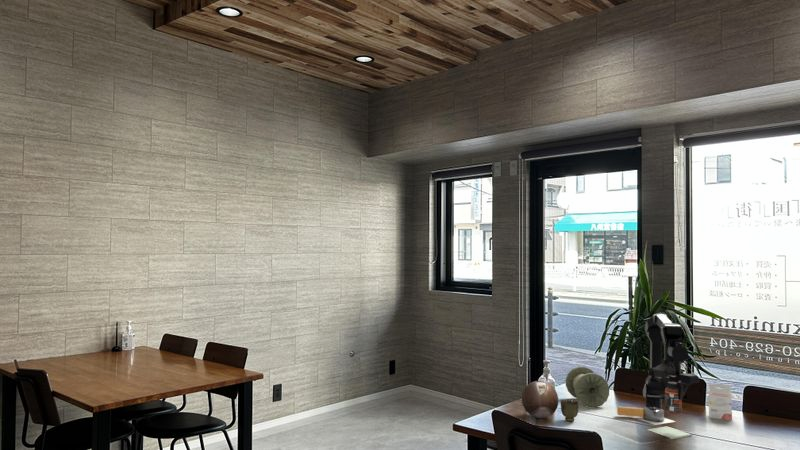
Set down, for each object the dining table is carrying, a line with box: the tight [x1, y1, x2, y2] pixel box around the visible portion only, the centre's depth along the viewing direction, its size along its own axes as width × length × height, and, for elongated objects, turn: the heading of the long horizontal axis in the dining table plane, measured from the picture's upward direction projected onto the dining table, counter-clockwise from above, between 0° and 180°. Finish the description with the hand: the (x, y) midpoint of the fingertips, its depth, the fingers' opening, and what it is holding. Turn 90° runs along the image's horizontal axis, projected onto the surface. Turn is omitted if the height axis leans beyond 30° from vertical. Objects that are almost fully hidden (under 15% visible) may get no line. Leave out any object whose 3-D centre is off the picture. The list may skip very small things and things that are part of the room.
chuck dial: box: [616, 405, 665, 422], centre depth 240 cm, size 18×8×5 cm, turn 76°
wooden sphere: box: [521, 380, 559, 419], centre depth 242 cm, size 15×15×15 cm
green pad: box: [646, 425, 692, 440], centre depth 221 cm, size 11×11×1 cm
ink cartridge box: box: [707, 382, 733, 421], centre depth 243 cm, size 9×5×15 cm, turn 62°
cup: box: [559, 399, 580, 423], centre depth 237 cm, size 8×7×8 cm
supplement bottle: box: [664, 381, 683, 415], centre depth 223 cm, size 6×6×11 cm
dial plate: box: [631, 416, 677, 426], centre depth 239 cm, size 12×12×1 cm
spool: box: [565, 366, 610, 409], centre depth 267 cm, size 16×15×15 cm
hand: (673, 397), depth 223 cm, fingers closed on supplement bottle, 6 cm apart
